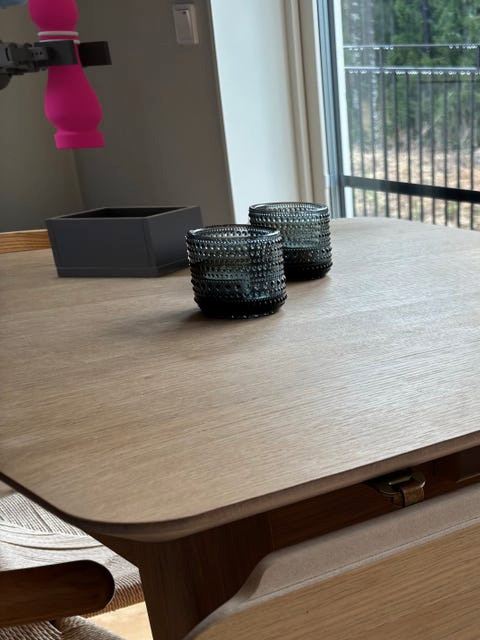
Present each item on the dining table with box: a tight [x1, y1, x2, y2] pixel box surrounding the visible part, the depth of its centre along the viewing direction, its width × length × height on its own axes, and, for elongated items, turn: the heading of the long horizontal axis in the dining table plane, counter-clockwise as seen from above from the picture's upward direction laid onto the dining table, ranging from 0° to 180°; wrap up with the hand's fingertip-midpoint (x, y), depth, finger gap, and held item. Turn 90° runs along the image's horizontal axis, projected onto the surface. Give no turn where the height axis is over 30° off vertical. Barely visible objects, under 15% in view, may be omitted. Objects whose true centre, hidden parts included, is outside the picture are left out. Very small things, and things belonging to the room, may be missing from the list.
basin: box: [44, 205, 204, 278], centre depth 112 cm, size 12×12×6 cm
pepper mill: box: [27, 0, 106, 150], centre depth 129 cm, size 7×7×20 cm
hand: (90, 52), depth 127 cm, fingers closed on pepper mill, 5 cm apart
